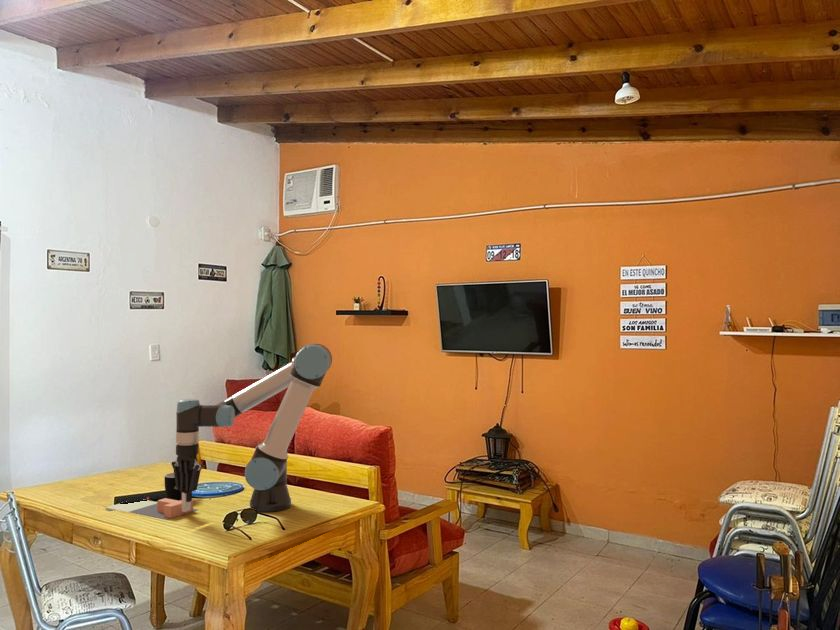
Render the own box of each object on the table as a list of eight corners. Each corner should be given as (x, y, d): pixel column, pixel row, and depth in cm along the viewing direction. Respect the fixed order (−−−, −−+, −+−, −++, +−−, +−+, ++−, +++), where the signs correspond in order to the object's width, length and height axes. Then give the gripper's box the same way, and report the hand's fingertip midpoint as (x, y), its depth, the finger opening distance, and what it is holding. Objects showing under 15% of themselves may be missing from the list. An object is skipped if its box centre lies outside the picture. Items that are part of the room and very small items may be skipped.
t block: (193, 510, 232) (193, 499, 232) (170, 518, 223) (171, 506, 223) (172, 507, 237) (172, 496, 237) (149, 514, 228) (149, 502, 228)
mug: (171, 505, 241) (171, 478, 242) (159, 501, 247) (160, 474, 247) (200, 499, 250) (201, 473, 251) (188, 495, 256) (189, 469, 256)
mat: (198, 512, 234) (198, 509, 234) (167, 522, 221) (167, 520, 221) (137, 500, 248) (137, 498, 248) (105, 509, 236) (105, 507, 236)
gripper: (209, 443, 228) (207, 510, 227) (182, 440, 233) (181, 505, 233) (192, 446, 221) (191, 516, 220) (165, 443, 227) (164, 510, 226)
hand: (186, 510), depth 227 cm, fingers closed
